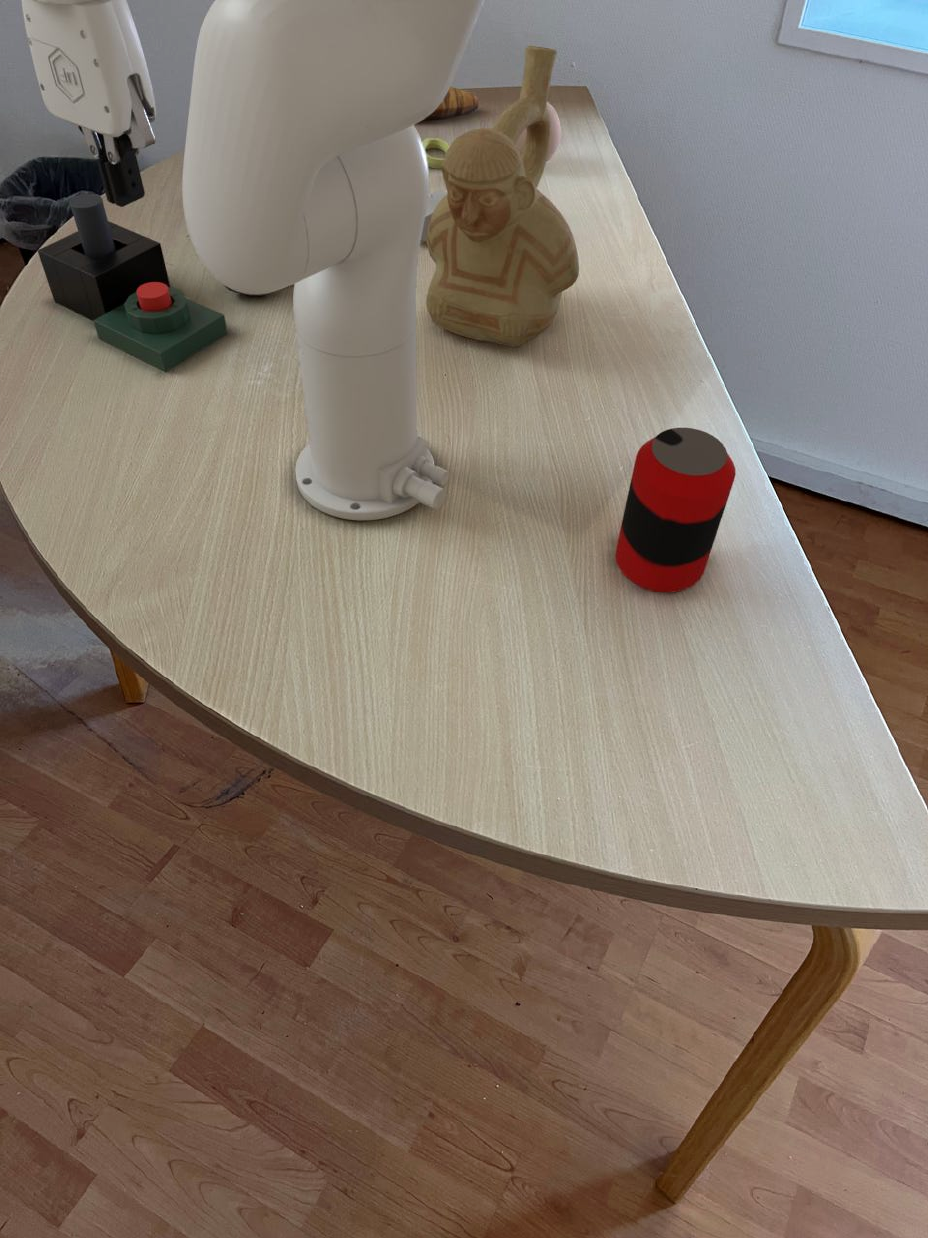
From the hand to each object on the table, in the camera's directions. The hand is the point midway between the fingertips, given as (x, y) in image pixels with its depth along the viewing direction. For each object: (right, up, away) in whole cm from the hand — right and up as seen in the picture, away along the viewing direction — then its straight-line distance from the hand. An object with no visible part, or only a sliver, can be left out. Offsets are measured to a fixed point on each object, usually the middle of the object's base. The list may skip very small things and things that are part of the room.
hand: (126, 199), depth 87 cm
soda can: (+48, -35, -9) cm, 60 cm away
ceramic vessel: (+36, -6, +16) cm, 40 cm away
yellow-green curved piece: (+25, +25, +42) cm, 55 cm away
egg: (+41, +24, +42) cm, 64 cm away
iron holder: (-7, -4, +16) cm, 18 cm away
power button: (0, -7, +9) cm, 11 cm away
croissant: (+28, +36, +52) cm, 69 cm away
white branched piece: (+32, +9, +29) cm, 44 cm away
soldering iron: (-7, -4, +16) cm, 18 cm away
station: (0, -9, +11) cm, 15 cm away
